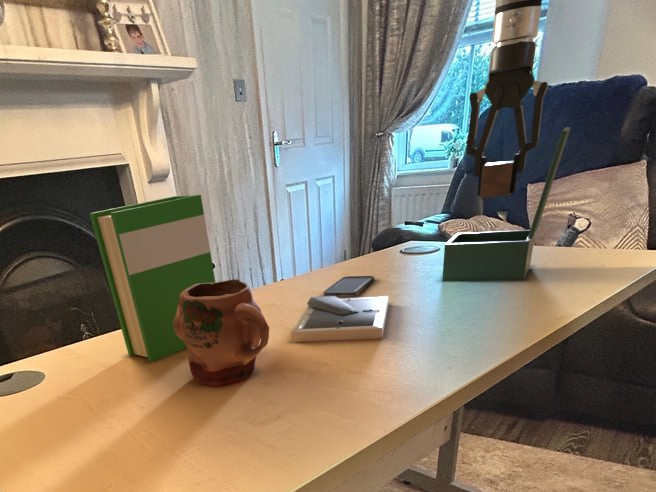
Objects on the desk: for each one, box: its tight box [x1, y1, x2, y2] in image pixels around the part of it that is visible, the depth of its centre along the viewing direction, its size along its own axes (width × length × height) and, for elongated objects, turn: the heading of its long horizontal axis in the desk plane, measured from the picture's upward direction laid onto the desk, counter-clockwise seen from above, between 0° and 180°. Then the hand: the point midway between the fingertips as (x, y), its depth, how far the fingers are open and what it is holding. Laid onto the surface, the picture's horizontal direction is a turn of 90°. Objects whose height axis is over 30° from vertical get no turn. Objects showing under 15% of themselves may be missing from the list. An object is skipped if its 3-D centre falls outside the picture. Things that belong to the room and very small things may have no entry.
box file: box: [441, 229, 536, 282], centre depth 116 cm, size 17×13×8 cm
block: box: [479, 160, 514, 199], centre depth 106 cm, size 6×6×6 cm
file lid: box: [528, 126, 571, 239], centre depth 104 cm, size 18×13×1 cm
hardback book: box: [89, 194, 216, 363], centre depth 95 cm, size 18×7×24 cm, turn 136°
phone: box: [323, 275, 375, 298], centre depth 121 cm, size 8×1×15 cm
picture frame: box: [291, 295, 389, 343], centre depth 100 cm, size 16×3×21 cm
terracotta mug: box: [173, 278, 270, 388], centre depth 80 cm, size 20×12×14 cm, turn 49°
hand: (496, 193), depth 108 cm, fingers closed on block, 5 cm apart
